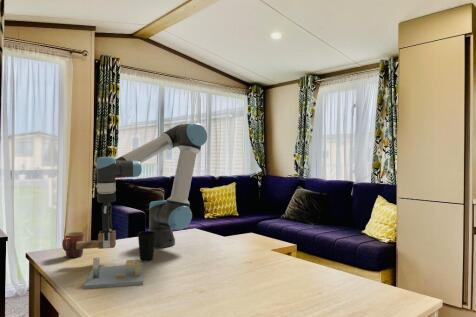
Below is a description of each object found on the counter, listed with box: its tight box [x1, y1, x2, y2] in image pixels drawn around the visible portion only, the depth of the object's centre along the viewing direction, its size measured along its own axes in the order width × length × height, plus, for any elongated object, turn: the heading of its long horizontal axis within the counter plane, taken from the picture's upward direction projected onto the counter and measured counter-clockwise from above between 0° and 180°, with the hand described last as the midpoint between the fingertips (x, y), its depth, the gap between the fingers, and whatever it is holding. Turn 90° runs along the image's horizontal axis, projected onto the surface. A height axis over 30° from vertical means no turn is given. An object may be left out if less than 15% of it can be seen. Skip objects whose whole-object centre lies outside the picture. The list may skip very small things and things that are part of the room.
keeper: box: [117, 258, 142, 279], centre depth 136 cm, size 8×8×4 cm
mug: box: [61, 231, 86, 259], centre depth 163 cm, size 12×9×10 cm
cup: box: [137, 230, 155, 262], centre depth 160 cm, size 8×8×12 cm
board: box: [83, 263, 145, 290], centre depth 137 cm, size 20×21×1 cm
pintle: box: [92, 257, 101, 278], centre depth 133 cm, size 2×2×7 cm
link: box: [76, 230, 117, 250], centre depth 154 cm, size 15×6×6 cm, turn 104°
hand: (107, 245), depth 155 cm, fingers closed on link, 6 cm apart
